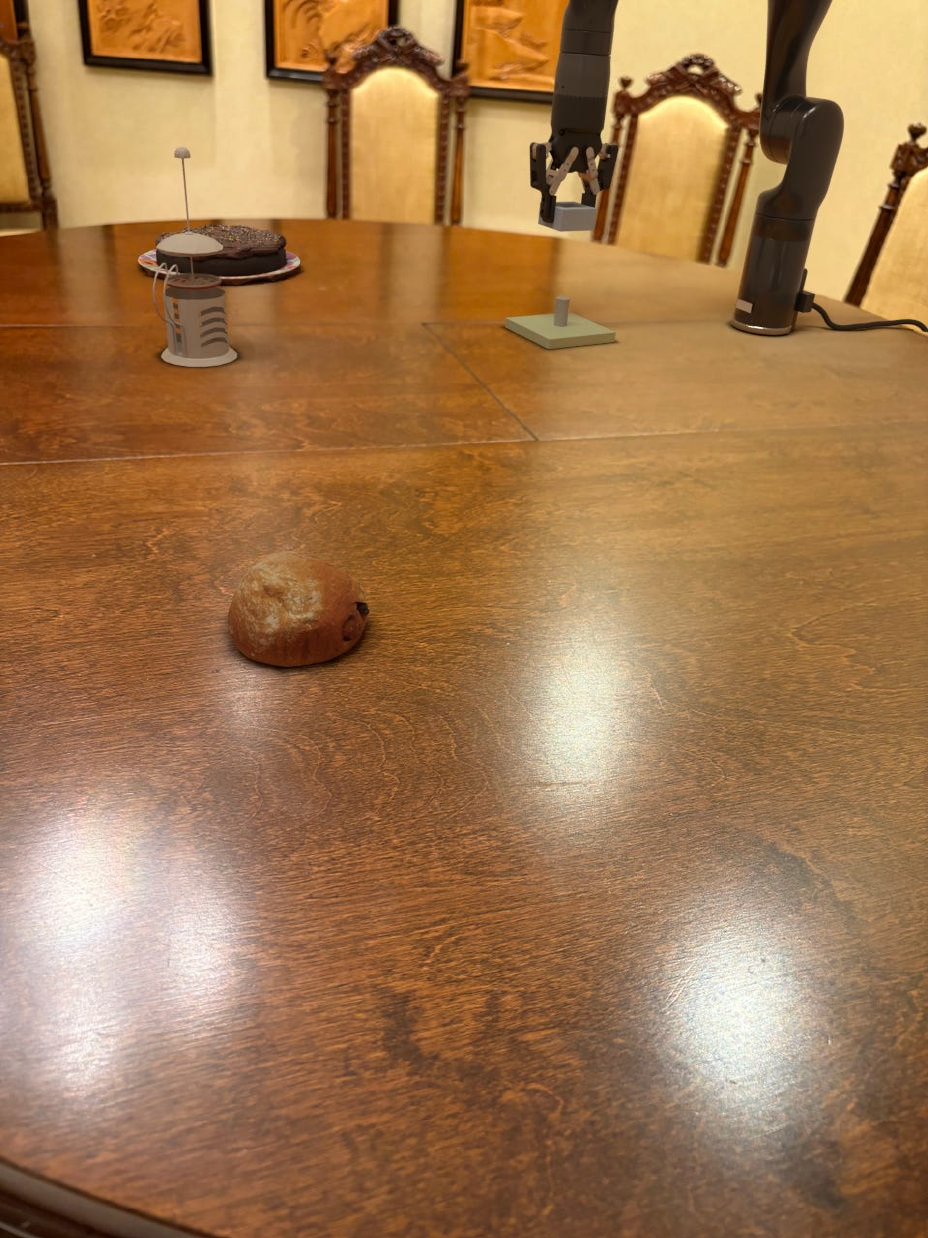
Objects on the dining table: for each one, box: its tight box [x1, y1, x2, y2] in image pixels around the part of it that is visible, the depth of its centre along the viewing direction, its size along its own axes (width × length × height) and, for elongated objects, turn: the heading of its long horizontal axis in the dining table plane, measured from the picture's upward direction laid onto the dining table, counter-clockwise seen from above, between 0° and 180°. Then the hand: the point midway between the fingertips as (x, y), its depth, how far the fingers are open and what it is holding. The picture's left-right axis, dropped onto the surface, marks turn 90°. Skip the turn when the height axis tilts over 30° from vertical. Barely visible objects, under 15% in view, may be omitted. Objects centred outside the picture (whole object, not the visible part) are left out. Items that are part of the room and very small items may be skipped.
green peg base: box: [504, 295, 617, 350], centre depth 146 cm, size 12×12×6 cm
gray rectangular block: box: [537, 201, 598, 233], centre depth 142 cm, size 6×6×3 cm
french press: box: [152, 146, 238, 368], centre depth 121 cm, size 10×12×25 cm
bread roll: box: [226, 550, 370, 668], centre depth 72 cm, size 10×10×8 cm
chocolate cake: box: [137, 223, 302, 286], centre depth 170 cm, size 28×28×7 cm
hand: (566, 221), depth 142 cm, fingers closed on gray rectangular block, 6 cm apart
